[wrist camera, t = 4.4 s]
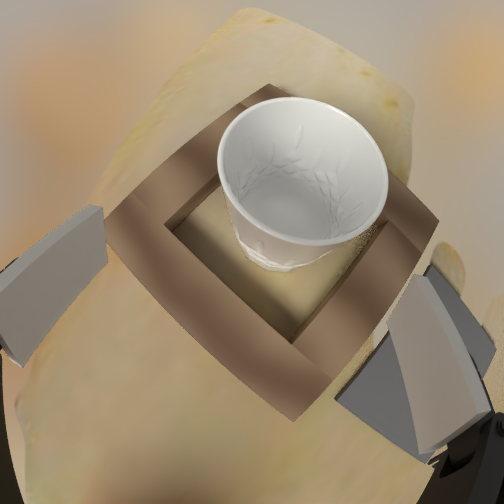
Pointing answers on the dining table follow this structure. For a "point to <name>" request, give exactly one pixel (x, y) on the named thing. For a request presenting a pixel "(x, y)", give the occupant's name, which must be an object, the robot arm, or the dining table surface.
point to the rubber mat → (391, 379)
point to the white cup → (299, 180)
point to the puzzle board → (231, 306)
